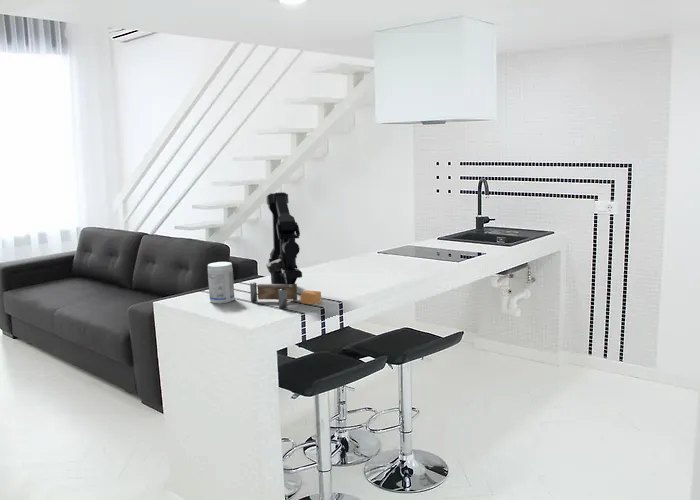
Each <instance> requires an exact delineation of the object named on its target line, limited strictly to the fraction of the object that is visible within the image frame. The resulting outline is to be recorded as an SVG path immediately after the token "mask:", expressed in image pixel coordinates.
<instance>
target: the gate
mask: <svg viewBox="0 0 700 500" xmlns="http://www.w3.org/2000/svg"><path fill="white" fill-rule="evenodd" d="M297 286H298V283H295V284H271V283H265V284H264V283H258V284H257V300H278V301H279V295H278V289H282V288H284V289H286V290H287V301H289V300H292V301H293V302H297V301H298V287H297Z"/></svg>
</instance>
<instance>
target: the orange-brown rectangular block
mask: <svg viewBox="0 0 700 500" xmlns="http://www.w3.org/2000/svg"><path fill="white" fill-rule="evenodd" d="M321 302H322V292H321V291H318V290H305V291H303V292H301V293H300V303H301V304H306V305H308V304H309V305H317V304H318V303H321Z"/></svg>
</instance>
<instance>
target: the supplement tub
mask: <svg viewBox="0 0 700 500" xmlns="http://www.w3.org/2000/svg"><path fill="white" fill-rule="evenodd" d="M233 271H234V269H233V263H232V262H230V261H229V262H228V261H217V262H211V263H208V264H207V280H208V292H209V293H208V294H209V301H210V302H211V303H213V304H228V303H230V302H233V301H234V300H235V286H234V285H235V284H234V272H233Z"/></svg>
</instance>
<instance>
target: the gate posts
mask: <svg viewBox="0 0 700 500" xmlns="http://www.w3.org/2000/svg"><path fill="white" fill-rule="evenodd" d="M249 288H250V303H257V302H258V284H257V282H249ZM278 295H279V300H278V309H280V310H284V309H285V310H287V308H288V300H287V290H286V289H284V288H282V289H278Z"/></svg>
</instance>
